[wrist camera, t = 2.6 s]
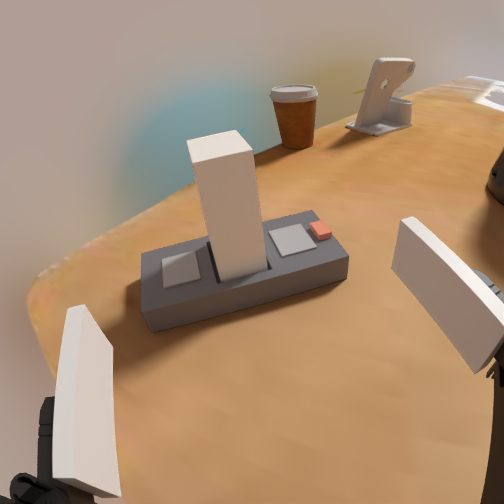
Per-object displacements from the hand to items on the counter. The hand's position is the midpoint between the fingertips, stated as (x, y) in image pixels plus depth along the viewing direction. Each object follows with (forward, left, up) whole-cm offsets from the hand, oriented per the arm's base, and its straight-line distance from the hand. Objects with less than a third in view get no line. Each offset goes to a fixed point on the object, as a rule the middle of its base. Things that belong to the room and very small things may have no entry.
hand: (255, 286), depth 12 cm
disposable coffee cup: (-21, -50, -14) cm, 56 cm away
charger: (-1, -16, -13) cm, 21 cm away
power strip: (-1, -16, -14) cm, 22 cm away
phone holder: (-46, -55, -14) cm, 73 cm away
